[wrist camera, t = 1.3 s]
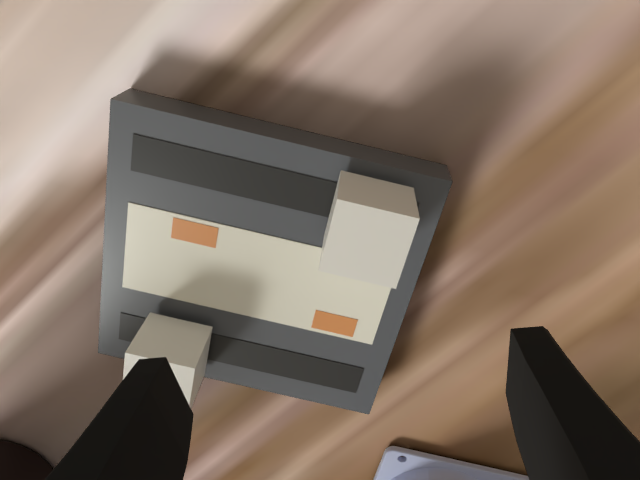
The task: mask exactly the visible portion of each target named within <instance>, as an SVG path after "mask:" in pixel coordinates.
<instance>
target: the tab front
mask: <svg viewBox="0 0 640 480" xmlns="http://www.w3.org/2000/svg"><path fill="white" fill-rule="evenodd" d="M419 220H420V217H419V212H418V207H417V202H416V197H415V192H414V188H413V187H409V186H404V185H400V184H396V183H392V182H388V181H384V180H379V179H375V178H371V177H367V176H363V175H359V174H355V173H350V172H346V171H342V170H341V171H340V175H339V179H338V183H337V187H336V191H335V195H334V199H333V202H332V206H331V210H330V214H329V218H328V222H327V226H326V230H325V234H324V239H323V245H322V251H321V258H320V264H319V270H318V271H321V272H325V273H330V274H334V275H338V276H343V277H347V278H351V279H355V280H360V281H364V282H368V283H372V284H377V285H381V286H385V287H389V288H394V289H396V287H397V284H398V281H399V279H400V276H401V273H402V270H403V267H404V264H405V261H406V258H407V255H408V252H409V249H410V246H411V243H412V240H413V237H414V235H415V232H416V229H417V226H418V223H419Z"/></svg>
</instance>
